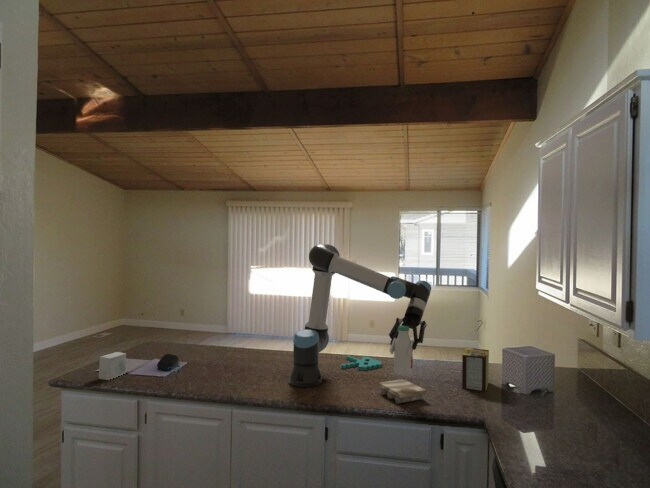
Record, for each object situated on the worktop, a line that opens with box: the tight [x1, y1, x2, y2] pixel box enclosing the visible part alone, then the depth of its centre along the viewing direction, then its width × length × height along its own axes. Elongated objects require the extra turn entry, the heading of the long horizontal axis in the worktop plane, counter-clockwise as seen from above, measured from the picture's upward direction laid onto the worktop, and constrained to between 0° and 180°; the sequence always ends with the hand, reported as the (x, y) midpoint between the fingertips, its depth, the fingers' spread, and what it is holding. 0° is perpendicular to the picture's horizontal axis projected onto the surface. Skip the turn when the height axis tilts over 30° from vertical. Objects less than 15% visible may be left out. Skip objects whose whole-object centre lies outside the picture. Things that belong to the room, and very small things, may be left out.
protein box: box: [461, 347, 490, 393], centre depth 199 cm, size 10×15×16 cm
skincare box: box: [98, 351, 127, 381], centre depth 204 cm, size 10×6×10 cm, turn 161°
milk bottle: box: [393, 325, 414, 376], centre depth 182 cm, size 8×8×20 cm
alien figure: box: [340, 355, 383, 371], centre depth 231 cm, size 20×2×20 cm
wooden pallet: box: [378, 378, 427, 405], centre depth 182 cm, size 16×13×4 cm
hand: (400, 353), depth 179 cm, fingers closed on milk bottle, 7 cm apart
